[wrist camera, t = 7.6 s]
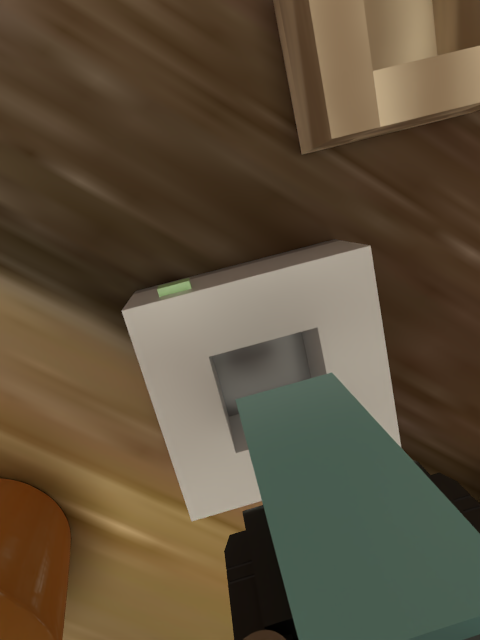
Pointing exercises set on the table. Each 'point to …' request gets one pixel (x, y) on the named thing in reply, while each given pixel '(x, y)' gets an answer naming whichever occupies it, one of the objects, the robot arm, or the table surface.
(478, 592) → the plug
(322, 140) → the holster
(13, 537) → the flower pot
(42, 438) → the table surface
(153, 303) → the port
